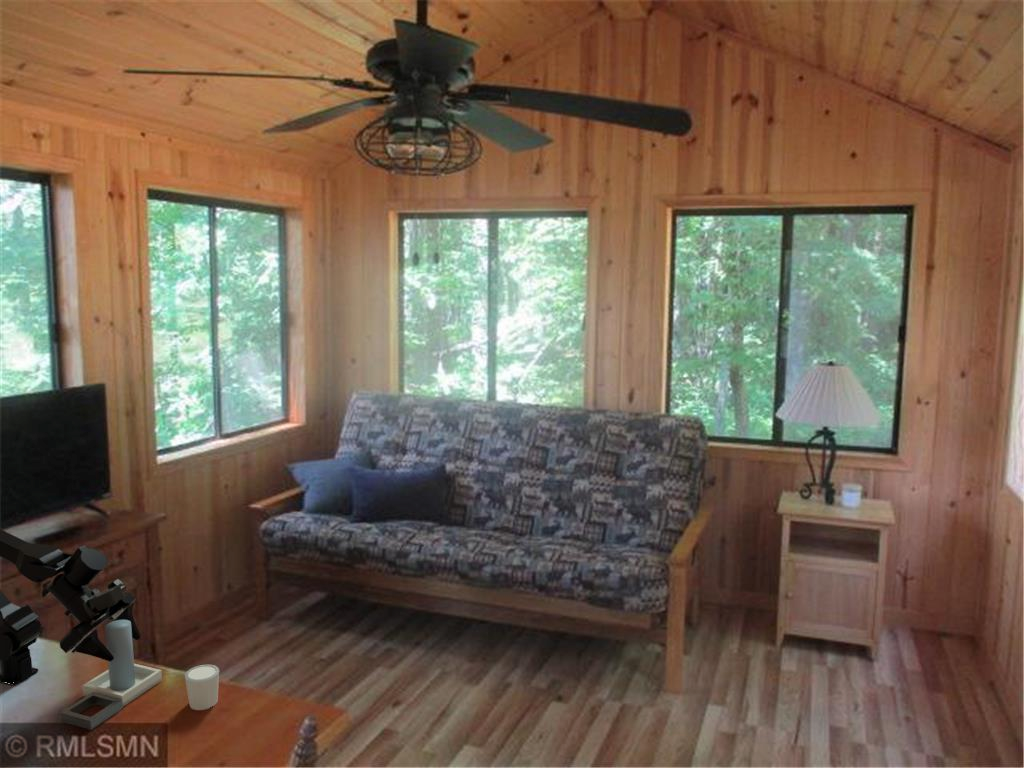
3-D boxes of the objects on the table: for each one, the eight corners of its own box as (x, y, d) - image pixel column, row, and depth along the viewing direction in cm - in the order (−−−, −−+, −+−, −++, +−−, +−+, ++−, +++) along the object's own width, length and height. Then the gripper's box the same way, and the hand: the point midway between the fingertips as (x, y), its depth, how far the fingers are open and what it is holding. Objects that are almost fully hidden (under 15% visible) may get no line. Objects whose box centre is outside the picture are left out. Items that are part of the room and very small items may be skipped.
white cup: (226, 694, 173) (224, 665, 172) (211, 713, 166) (209, 682, 165) (196, 692, 174) (194, 662, 172) (180, 710, 167) (178, 679, 166)
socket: (61, 721, 162) (60, 712, 162) (93, 700, 170) (93, 692, 169) (91, 730, 160) (90, 721, 159) (122, 708, 167) (122, 699, 167)
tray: (83, 695, 171) (82, 685, 171) (123, 670, 182) (123, 660, 181) (123, 706, 168) (122, 695, 167) (162, 680, 178) (161, 670, 177)
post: (105, 690, 172) (100, 630, 170) (116, 678, 177) (112, 619, 175) (129, 690, 172) (124, 630, 170) (139, 678, 177) (135, 619, 175)
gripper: (67, 593, 162) (121, 648, 162) (125, 557, 180) (173, 607, 180) (36, 625, 164) (88, 680, 164) (96, 587, 182) (143, 636, 183)
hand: (126, 649), depth 173 cm, fingers open, 9 cm apart
